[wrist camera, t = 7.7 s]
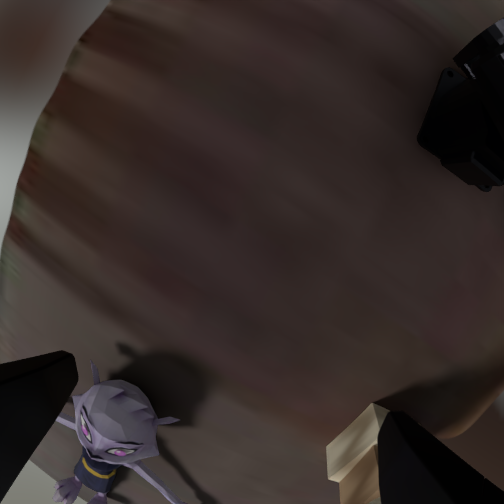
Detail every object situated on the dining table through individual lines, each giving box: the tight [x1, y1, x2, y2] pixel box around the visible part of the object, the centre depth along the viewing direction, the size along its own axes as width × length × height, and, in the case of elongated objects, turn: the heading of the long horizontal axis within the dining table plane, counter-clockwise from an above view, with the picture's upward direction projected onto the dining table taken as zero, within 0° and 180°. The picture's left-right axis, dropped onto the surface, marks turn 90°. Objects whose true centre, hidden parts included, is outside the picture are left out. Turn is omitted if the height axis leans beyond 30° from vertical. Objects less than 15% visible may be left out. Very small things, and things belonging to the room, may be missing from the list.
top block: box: [339, 445, 380, 504], centre depth 16 cm, size 5×5×4 cm
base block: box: [326, 403, 421, 482], centre depth 20 cm, size 6×6×4 cm
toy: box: [53, 359, 187, 504], centre depth 24 cm, size 26×9×30 cm
